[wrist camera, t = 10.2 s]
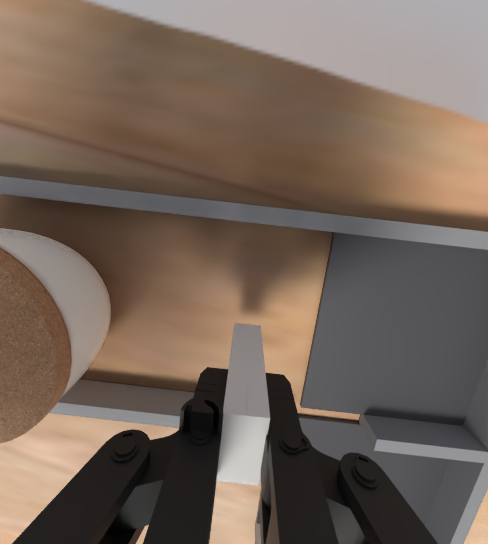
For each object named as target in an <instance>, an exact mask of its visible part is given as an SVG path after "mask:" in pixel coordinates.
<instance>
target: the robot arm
mask: <svg viewBox="0 0 488 544" xmlns="http://www.w3.org/2000/svg"><path fill="white" fill-rule="evenodd" d="M260 479H261V488H262V492H261V498H260V504H259V510H258V517H257V524H260V533H261V544H438V543H437V542H436V540H435V539H434V538H433V536H432V535H431V533H430V532H429V531H428V529H427V528H426V527H425V525H424V524H423V523H422V521H421V520H420V519H419V517H418V516H417V515H416V513H415V512H414V511H413V509H412V508H411V507H410V505H409V504H408V503H407V501H406V500H405V499H404V497H403V496H402V495H401V493H400V492H399V491H398V489H397V488H396V487H395V485H394V484H393V483H392V481H391V480H390V479H389V477H388V476H387V475H386V473H385V472H384V471H383V470H382V469H381V467H380V466H379V465H378V464H377V463H376V462H374V461H373V460H371V459H370V458H369V457H367V456H365V455H362V454H360V453H352V452H350V453H347V454H345V455H343V457H342V459H341V460H337V459H335V458H332V457H330V456H328V455H325V454H323V453H321V452H319V451H318V450H316V449H315V448H314V447H312V445H311V443H310V441H309V439H308V438H307V437H306V436H305V435H304V433H303V432H302V429H301V425H300V421H299V417H298V413H297V409H296V405H295V401H294V397H293V394H292V389H291V385H290V382H289V381H288V380H287V378H286V377H285V376H284V375H280V374H271V373H265V364H264V355H263V345H262V336H261V327H260V326H258V325H249V324H240V323H235V324H234V332H233V339H232V347H231V354H230V362H229V369H219V368H210V367H207V368H206V369H205V370H204V371H203V372H202V373H201V374H200V377H199V381H198V384H197V387H196V391H195V393H194V397H193V399H190V400H189V401H187V402H186V403H185V404H184V405H183V406H182V408H181V410H180V423H179V430H178V431H177V432H176V433H174V434H172V435H170V436H167V437H164V438H159V439H154V440H150V439H149V437H148V435H147V434H145V433H144V432H142V431H140V430H127V431H123V432H121V433H118V434H116V435H114V436H113V437H112V438H111V439H109V440H108V441H107V442H106V443H105V444H104V445H103V446H102V447H101V448H100V449H99V450H98V451H97V453H96V454H95V455H94V456H93V457H92V458H91V459H90V460H89V461H88V462H87V463H86V464H85V466H84V467H83V468H82V469H81V470H80V471H79V472H78V473H77V474H76V475H75V476H74V477H73V478H72V480H71V481H70V482H69V483H68V484H67V485H66V486H65V487H64V488H63V489H62V490H61V491H60V493H59V494H58V495H57V496H56V497H55V498H54V499H53V500H52V501H51V502H50V503H49V504H48V506H47V507H46V508H45V509H44V510H43V511H42V512H41V513H40V514H39V515H38V516H37V517H36V518H35V520H34V521H33V522H32V523H31V524H30V525H29V526H28V527H27V528H26V529H25V530H24V531H23V533H22V534H21V535H20V536H19V537H18V538H17V539H16V540H15V541H14V542H13V543H12V544H136V542H137V540H138V538H139V536H140V534H141V532H142V531H143V529H144V527H145V526H146V525H149V527H148V530H147V533H146V536H145V539H144V542H143V544H209V539H210V531H211V522H212V514H213V506H214V497H215V488H216V481H221V482H231V483H240V484H249V485H258V486H259V485H260Z"/></svg>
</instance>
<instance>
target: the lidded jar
mask: <svg viewBox="0 0 488 544" xmlns="http://www.w3.org/2000/svg"><path fill="white" fill-rule="evenodd" d="M110 320H111V305H110V299H109V295H108V292H107V289H106V286H105V284H104V282H103V280H102V278H101V277H100V275H99V274H98V272H97V271H96V269H95V268H94V267H93V266H92V265H91V264H90V263H89V262H88V261H87V260H86V259H85V258H84V257H82V256H81V255H80V254H79V253H77V252H76V251H74V250H73V249H71V248H69V247H68V246H66V245H64V244H62V243H60V242H58V241H55V240H53V239H50V238H48V237H45V236H41V235H38V234H34V233H30V232H25V231H19V230H12V229H4V228H0V443H4V442H7V441H10V440H13V439H15V438H17V437H19V436H21V435H23V434H25V433H26V432H28V431H29V430H30V429H32V428H33V427H34V426H36V425H37V424H38V423H39V422H40V421H41V420H42V419H43V418H44V417H45V416H46V415H47V414H48V413H49V412H50V411H51V409H52V408H53V407H54V406H55V405H56V404H57V403H58V401H59V400H60V398H61V397H63V396H64V395H65V394H66V393H67V391H68V390H69V389H70V388H71V387H72V386H73V385H74V384H75V383H76V382H77V381H78V380H79V379H80V378H81V376H82V375H83V374H84V373H85V372H86V370H87V369H88V368H89V367H90V365H91V364H92V363H93V361H94V359H95V358H96V356H97V355H98V353H99V351H100V350H101V348H102V346H103V344H104V341H105V339H106V336H107V333H108V330H109V326H110Z"/></svg>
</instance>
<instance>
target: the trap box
mask: <svg viewBox="0 0 488 544" xmlns="http://www.w3.org/2000/svg"><path fill="white" fill-rule="evenodd" d="M0 194H5V195H14V196H22V197H31V198H40V199H49V200H57V201H66V202H75V203H83V204H92V205H101V206H110V207H118V208H127V209H136V210H145V211H153V212H162V213H171V214H179V215H188V216H197V217H206V218H214V219H223V220H232V221H241V222H249V223H258V224H267V225H275V226H284V227H293V228H302V229H310V230H319V231H328V232H333V237H332V243H331V248H330V253H329V258H328V263H327V268H326V274H325V279H324V284H323V289H322V294H321V300H320V305H319V310H318V315H317V320H316V325H315V331H314V336H313V341H312V346H311V351H310V357H309V362H308V367H307V372H306V377H305V383H304V388H303V393H302V398H301V403H300V406H301V407H302V408H310V409H319V410H328V411H336V412H345V413H354V414H361V415H360V419H359V422H356V421H347V420H339V419H330V418H321V417H313V416H304V415H298V417H299V421H300V425H301V429H302V432H303V433H304V435H305V436H306V437H307V438H308V439H309V441H310V443H311V445H312V447H314V448H315V449H316V450H318V451H319V452H321V453H323V454H325V455H328V456H330V457H332V458H335V459H337V460H341V459H342V457H343V455H345V454H347V453H350V452H352V453H360V454H362V455H365V456H367V457H369V458H370V459H371V460H373V461H374V462H376V463H377V464H378V465H379V466H380V467H381V469H382V470H383V471H384V472H385V473H386V475H387V476H388V477H389V479H390V480H391V481H392V483H393V484H394V485H395V487H396V488H397V489H398V491H399V492H400V493H401V495H402V496H403V497H404V499H405V500H406V501H407V503H408V504H409V505H410V507H411V508H412V509H413V511H414V512H415V513H416V515H417V516H418V517H419V519H420V520H421V521H422V523H423V524H424V525H425V527H426V528H427V529H428V531H429V532H430V533H431V535H432V536H433V538H434V539H435V540H436V542H437V543H438V544H464V541H465V539H466V537H467V535H468V532H469V530H470V528H471V525H472V523H473V521H474V519H475V516H476V514H477V512H478V509H479V507H480V505H481V503H482V500H483V498H484V496H485V494H486V491H487V489H488V232H485V231H476V230H467V229H458V228H450V227H441V226H432V225H423V224H415V223H406V222H397V221H388V220H380V219H371V218H362V217H354V216H345V215H336V214H327V213H319V212H310V211H301V210H292V209H284V208H275V207H266V206H257V205H249V204H240V203H231V202H222V201H214V200H205V199H196V198H188V197H179V196H170V195H161V194H153V193H144V192H135V191H126V190H118V189H109V188H100V187H91V186H83V185H74V184H65V183H56V182H48V181H39V180H30V179H22V178H13V177H4V176H0ZM194 393H195V392H187V391H178V390H170V389H161V388H152V387H144V386H135V385H126V384H118V383H109V382H100V381H92V380H83V379H79V380H78V381H77V382H76V383H75V384H74V385H73V386H72V387H71V388H70V389H69V390H68V391H67V393H66V394H65V395H64V396H63V397H61V398H60V400H59V401H58V403H57V404H56V405H55V406H54V407H53V408H52V409H51V411H50V412H49V413H53V414H62V415H71V416H79V417H88V418H97V419H105V420H114V421H123V422H131V423H140V424H148V425H157V426H166V427H174V428H179V423H180V410H181V408H182V406H183V405H184V404H185V403H186V402H187V401H189V400H190V399H193V397H194ZM261 492H262V488H261ZM260 498H261V494H260ZM259 504H260V500H259ZM258 510H259V506H258ZM257 517H258V512H257ZM255 544H261V533H260V524H257V518H256V524H255Z"/></svg>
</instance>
